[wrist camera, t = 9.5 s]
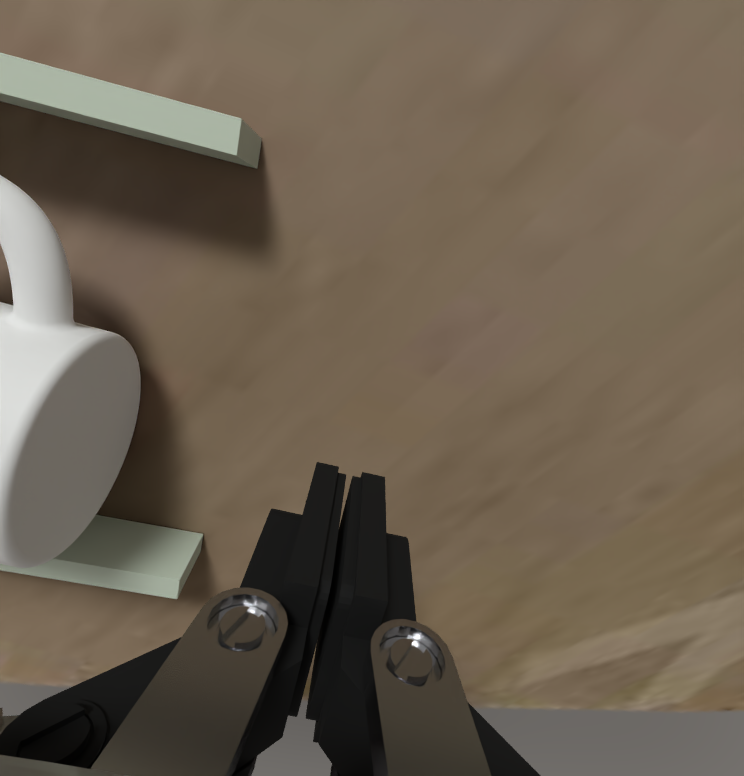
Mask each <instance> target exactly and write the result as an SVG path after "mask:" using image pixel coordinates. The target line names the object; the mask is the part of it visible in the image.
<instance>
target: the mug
mask: <svg viewBox="0 0 744 776" xmlns="http://www.w3.org/2000/svg"><path fill="white" fill-rule="evenodd" d="M0 244H1V246H2V249H3V252H4V255H5V258H6V261H7V265H8V269H9V274H10V279H11V285H12V295H13V305H10V304H6V303H2V302H0V564H3V565H8V566H13V567H18V568H30V567H35V566H38V565H41V564H44V563H46V562H48V561H50V560H52V559H53V558H55V557H56V556H58V555H59V554H60V553H62V552H63V551H64V550H65V549H67V548H68V547H69V546H70V545H71V544H72V543H73V542H74V541H75V540H76V539H77V538H78V537H79V536H80V535H81V533H82V532H83V531H84V530H85V529H86V527H87V526H88V525H89V523H90V522H91V521H92V519H93V518H94V517H95V515H96V514H97V512H98V511H99V509H100V507H101V506H102V504H103V503H104V501H105V499H106V498H107V496H108V494H109V492H110V490H111V488H112V486H113V484H114V482H115V480H116V478H117V476H118V474H119V472H120V469H121V467H122V465H123V462H124V460H125V457H126V454H127V452H128V449H129V446H130V443H131V439H132V436H133V433H134V429H135V425H136V420H137V415H138V410H139V403H140V392H141V376H140V368H139V363H138V359H137V356H136V353H135V351H134V349H133V347H132V346H131V345H130V343H129V342H128V341H127V340H126V339H125V338H123V337H122V336H120V335H118V334H116V333H113V332H110V331H106V330H102V329H99V328H95V327H91V326H87V325H84V324H80V323H76V322H74V320H73V293H72V283H71V276H70V270H69V265H68V261H67V257H66V254H65V251H64V248H63V245H62V243H61V240H60V238H59V236H58V234H57V232H56V230H55V228H54V226H53V225H52V223H51V221H50V220H49V218H48V217H47V216H46V214H45V213H44V212H43V210H42V209H41V208H40V207H39V206H38V205H37V203H36V202H35V201H34V200H33V199H32V198H31V197H30V196H28V195H27V194H26V193H25V192H24V191H23V190H21V189H20V188H19V187H18V186H16V185H15V184H13V183H12V182H10V181H9V180H7V179H6V178H4V177H2V176H1V175H0Z"/></svg>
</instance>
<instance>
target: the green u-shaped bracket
mask: <svg viewBox="0 0 744 776" xmlns="http://www.w3.org/2000/svg"><path fill="white" fill-rule="evenodd" d="M0 101H1V102H5V103H9V104H13V105H17V106H20V107H24V108H28V109H32V110H36V111H39V112H43V113H47V114H51V115H55V116H58V117H62V118H66V119H70V120H74V121H77V122H81V123H85V124H89V125H93V126H96V127H100V128H104V129H108V130H112V131H115V132H119V133H123V134H127V135H131V136H134V137H138V138H142V139H146V140H149V141H153V142H157V143H161V144H165V145H168V146H172V147H176V148H180V149H184V150H187V151H191V152H195V153H199V154H203V155H206V156H210V157H214V158H218V159H222V160H225V161H229V162H233V163H237V164H241V165H244V166H248V167H252V168H256V169H257V168H258V162H259V155H260V148H261V141H262V138H261V137H260V136H259V135H258V134H257V133H256V132H254V131H253V130H252V129H251V128H250V127H249V126H248V125H247V124H246V123H245V122H244V121H243V120H242V119H241V118H237V117H234V116H230V115H226V114H223V113H219V112H215V111H212V110H208V109H204V108H201V107H197V106H193V105H190V104H186V103H182V102H179V101H175V100H172V99H168V98H164V97H161V96H157V95H153V94H150V93H146V92H142V91H139V90H135V89H131V88H128V87H124V86H120V85H117V84H113V83H109V82H106V81H102V80H98V79H95V78H91V77H88V76H84V75H80V74H77V73H73V72H69V71H66V70H62V69H58V68H55V67H51V66H47V65H44V64H40V63H36V62H33V61H29V60H25V59H22V58H18V57H14V56H11V55H7V54H3V53H0ZM202 540H203V534H201V533H195V532H189V531H184V530H178V529H173V528H167V527H162V526H156V525H150V524H145V523H139V522H134V521H128V520H122V519H117V518H111V517H106V516H100V515H95V517H94V518H93V519H92V521H91V522H90V523H89V525H88V526H87V527H86V529H85V530H84V531H83V532H82V533H81V535H80V536H79V537H78V538H77V539H76V540H75V541H74V542H73V543H72V544H71V545H70V546H69V547H68V548H67V549H65V550H64V551H63V552H62V553H60V554H59V555H58V556H56V557H55V558H53V559H52V560H50V561H48V562H46V563H44V564H41V565H38V566H35V567H30V568H18V567H13V566H8V565H3V564H0V570H2V571H8V572H14V573H20V574H26V575H32V576H38V577H44V578H51V579H57V580H63V581H69V582H75V583H81V584H87V585H93V586H99V587H106V588H112V589H118V590H124V591H130V592H136V593H142V594H148V595H154V596H161V597H167V598H173V599H177V598H178V596H179V594H180V592H181V590H182V588H183V586H184V584H185V582H186V580H187V578H188V576H189V574H190V572H191V570H192V568H193V566H194V564H195V562H196V560H197V558H198V556H199V554H200V552H201V546H202Z"/></svg>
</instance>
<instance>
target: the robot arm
mask: <svg viewBox="0 0 744 776" xmlns="http://www.w3.org/2000/svg"><path fill="white" fill-rule="evenodd" d="M338 469H339V467H337V466H333V465H328V464H324V463H319V462H317V464H316V468H315V471H314V475H313V479H312V482H311V486H310V490H309V493H308V497H307V501H306V504H305V508H304V512H303V515H300V514H295V513H290V512H286V511H281V510H276V509H271V510H270V513H269V515H268V518H267V520H266V523H265V525H264V528H263V530H262V533H261V535H260V538H259V540H258V543H257V546H256V548H255V551H254V553H253V556H252V558H251V561H250V563H249V566H248V568H247V571H246V573H245V576H244V578H243V581H242V584H241V586H240V588H234V589H230V590H226V591H223V592H221V593H219V594H217V595H216V596H214V597H212V598H211V599H210V600H209V601H208V602H207V603H206V604H205V605H204V606H203V607H202V609H201V610H200V612H199V613H198V614H197V616H196V617H195V619H194V620H193V622H192V623H191V625H190V626H189V627H188V629H187V630H186V632H185V633H184V635H183V636H182V637H181V638H179V639H176V640H174V641H172V642H170V643H168V644H165V645H163V646H161V647H159V648H157V649H154V650H152V651H150V652H148V653H146V654H143V655H141V656H139V657H137V658H135V659H133V660H130V661H128V662H126V663H124V664H122V665H119V666H117V667H115V668H113V669H111V670H108V671H106V672H104V673H102V674H100V675H97V676H95V677H93V678H91V679H89V680H86V681H84V682H82V683H80V684H78V685H75V686H73V687H71V688H69V689H67V690H64V691H62V692H60V693H58V694H56V695H53V696H52V697H49V698H47V699H45V700H43V701H41V702H39V703H38V704H36V705H34V706H32V707H31V708H29V709H27V710H26V711H24V712H23V713H22V714H21V715H15V716H3V715H2V714H3V713H2V708H0V776H251V775H252V773H253V770H254V767H255V763H256V759H257V755H258V754H260V753H261V752H262V751H264V750H265V749H267V748H268V747H269V746H271V745H272V744H274V743H275V742H276V741H278V740H279V739H280V738H282V736H283V732H284V728H285V724H286V720H287V717H288V715H290V716H295V717H296V716H297V715H298V711H299V707H300V704H301V700H302V696H303V692H304V688H305V685H306V681H307V677H308V673H309V670H310V666H311V662H312V658H313V654H314V651H315V647H316V652H315V659H314V666H313V672H312V679H311V685H310V692H309V699H308V705H307V712H306V719H311V720H316V724H315V732H314V740H313V742H318V743H319V745H320V747H321V748H322V750H323V751H324V753H325V754H326V755H327V757H328V758H329V759H330V761H331V763H332V766H331V773H330V776H540V775H539V774H538V773H537V772H536V771H535V770H534V769H533V768H532V767H531V766H530V765H529V764H528V763H527V762H526V761H525V760H524V759H523V758H522V757H521V756H520V755H519V754H518V753H517V752H516V751H515V750H514V749H513V748H512V747H511V746H510V745H509V744H508V743H507V742H506V741H505V739H504V738H503V737H502V736H501V735H499V734H498V733H497V732H496V730H495V729H494V728H493V727H492V726H491V725H490V724H489V723H487V721H486V720H485V719H484V718H483V717H482V716H481V715H480V714H479V713H478V712H477V711H476V710H475V709H474V708H473V707H472V706H471V705H470V704H469V703H468V702H467V699H466V696H465V693H464V690H463V687H462V684H461V681H460V678H459V675H458V672H457V669H456V666H455V663H454V660H453V657H452V655H451V653H450V651H449V649H448V647H447V645H446V644H445V643H444V641H443V640H442V639H441V638H440V637H439V635H438V634H436V633H435V632H434V631H432V630H431V629H430V628H428V627H427V626H425V625H422V624H420V623H418V622H416V614H415V604H414V594H413V583H412V573H411V563H410V552H409V543H408V539H407V538H406V537H402V536H398V535H393V534H388V533H386V502H385V477H382V476H378V475H373V474H369V473H364V472H363V473H362V475H361V478H359V477H355V476H353V477H352V480H351V484H350V488H349V492H348V496H347V500H346V504H345V507H344V511H343V515H342V519H341V523H340V516H341V509H342V502H343V494H344V487H345V480H346V474H341V473H338ZM339 524H340V527H339ZM316 643H317V646H316Z"/></svg>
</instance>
